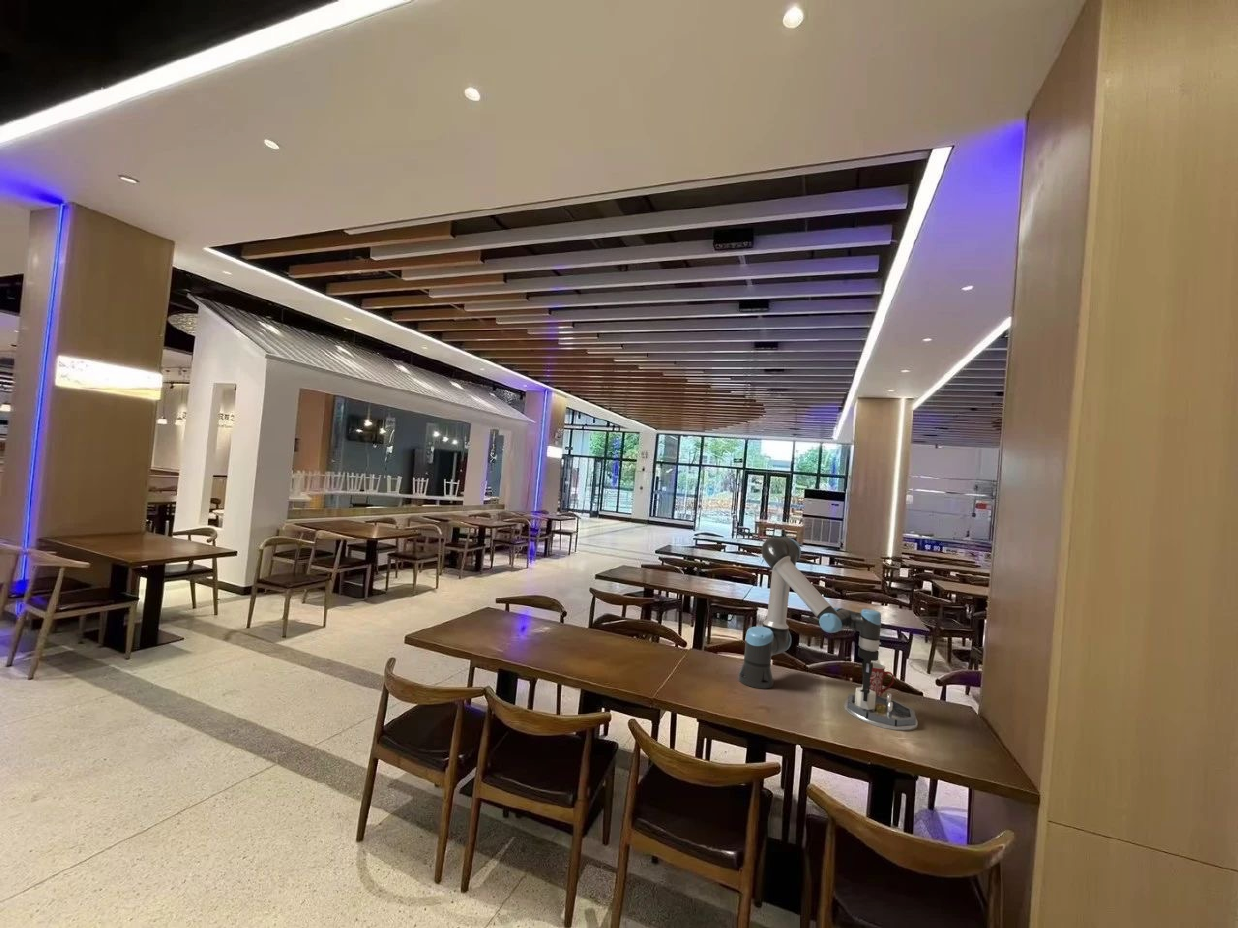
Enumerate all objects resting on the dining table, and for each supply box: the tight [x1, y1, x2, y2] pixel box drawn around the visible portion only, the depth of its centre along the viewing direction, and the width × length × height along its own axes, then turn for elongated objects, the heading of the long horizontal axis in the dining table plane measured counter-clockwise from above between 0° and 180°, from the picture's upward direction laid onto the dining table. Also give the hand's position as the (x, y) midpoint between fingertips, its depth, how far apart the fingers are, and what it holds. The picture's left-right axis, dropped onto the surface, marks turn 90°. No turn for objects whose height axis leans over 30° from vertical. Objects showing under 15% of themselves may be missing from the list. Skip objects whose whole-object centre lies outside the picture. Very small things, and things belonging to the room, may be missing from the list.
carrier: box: [844, 692, 919, 732], centre depth 212 cm, size 26×26×8 cm
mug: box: [870, 661, 895, 697], centre depth 232 cm, size 13×9×14 cm
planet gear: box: [854, 686, 876, 710], centre depth 214 cm, size 7×7×6 cm
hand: (864, 705), depth 214 cm, fingers closed on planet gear, 7 cm apart
